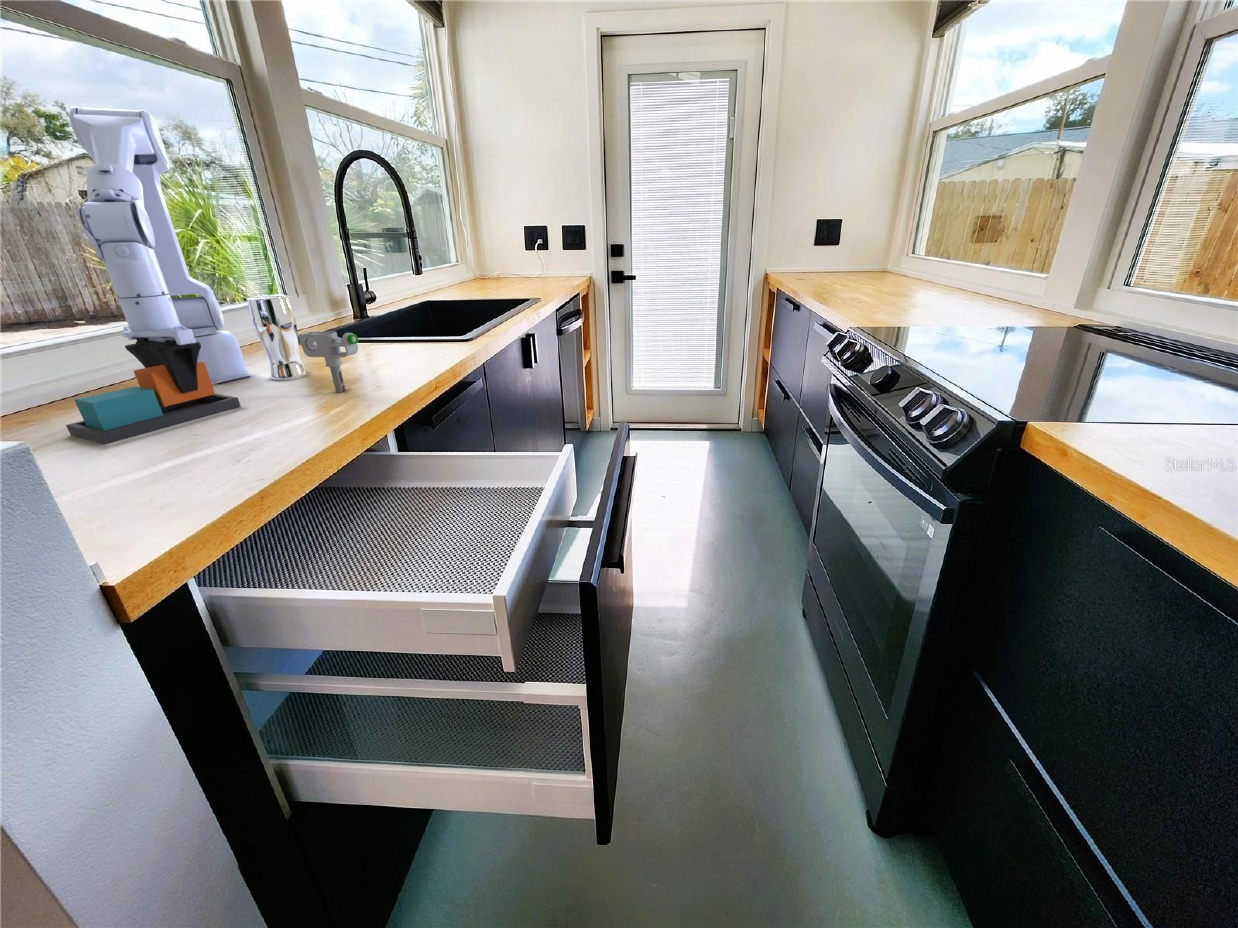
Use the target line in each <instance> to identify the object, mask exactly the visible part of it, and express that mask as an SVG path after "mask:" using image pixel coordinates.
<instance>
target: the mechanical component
mask: <svg viewBox="0 0 1238 928" xmlns="http://www.w3.org/2000/svg"><path fill="white" fill-rule="evenodd" d="M358 343H359V337H358V335H357V334H355V333H352V332H345V333H344V334H342V337H340V336H338V333H337V331H307V332H303V333H298V344H300V345H301V348H302V351H303V353H304V355H306V356H307V357H309V358H324V361H325V366H326V367H327V368H329V371H330V375H331V378H332V383H333V386H334V390H335V393H336V394H337V393H343V391H347V389H346V386H345V382H344V377H343V373H342V368H341V366H342V365H344V362H342V358H346V357H350V356H353V355H355V354H357V353H358V351H359V346H358ZM341 348H344V349H345V351H342V350H341Z"/></svg>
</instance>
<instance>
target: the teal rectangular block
mask: <svg viewBox="0 0 1238 928" xmlns="http://www.w3.org/2000/svg"><path fill="white" fill-rule="evenodd" d="M74 403H75V404H76V407H77V409H78V412H79V414H80V415H81V417H82V421H84V422H85V424H86V426H87V427H89V428H93V429H97V430H101V431H106V430H110V429H113V428H117V427H121V426H125V425H129V424H133V423H136V422H140V421H144V420H148V419H152V418H156V417H159V416H163V413H162V411H161V408H160V406H159V403H158V401H157V398H156V396H155V393H154V391H153V390H152V389H147V388H141V387H140V386H131V387H130V386H129V387H128V388H122V389H117V390H112V391H108V392H102V393H98V394H93V395H89V396H84V397H79V398H75V399H74Z"/></svg>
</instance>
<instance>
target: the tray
mask: <svg viewBox="0 0 1238 928" xmlns="http://www.w3.org/2000/svg"><path fill="white" fill-rule="evenodd" d="M160 408H161V411H162V413H163V416H159V417H156V418H152V419H148V420H144V421H140V422H136V423H133V424H129V425H125V426H121V427H117V428H113V429H110V430H106V431H101V430H97V429H93V428H89V427H87V426H86V424H85V422H84V420H80V421H77V422H73V423H68V424H65V426H66V429H67V431H68V433H69V435H70V436H71V437H74V438H79V439H82V440H86V441H90V442H93V443H97V444H99V445H103V446H105V445H108V444H111V443H115V442H119V441H123V440H127V439H130V438H133V437H137V436H141V435H144V434H148V433H151V432H155V431H159V430H162V429H166V428H169V427H173V426H177V425H180V424H181V425H182V424H184V423H187V422H190V421H194V420H199V419H202V418H206V417H208V416H212V415H216V414H219V413H224V412H227V411H230V410H234V409H239V408H241V403H240V400H239V397H237V396H233V395H225V394H220V393H215V394H214V395H210V396H206V397H202V398H198V399H194V400H190V401H186V402H182V403H178V404H174V405H170V406H166V407H163V406H160Z"/></svg>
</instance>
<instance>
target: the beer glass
mask: <svg viewBox="0 0 1238 928" xmlns="http://www.w3.org/2000/svg"><path fill="white" fill-rule="evenodd" d="M246 302H247V305H248V306H247V307H248V312H249V316H250V320H251V324H252V327H253V329H254V332H255V333H256V334H255V335H256V336H257V338H258V340H259V342H260V345H261V346H262V348H263V350H264V352H265V354H266V357H267V360H268V362H269V369H270V377H271V378H270V379H272V380H273V381H289V380H295V379H300V378H304V377H305V376H307V375H308V372H307V370H306V368H305V365H304V364H303V361H302V358H301V354H300V347H299V341H298V334H299V333H298V327H297V321H296V317H295V314H294V311H293V308H292V305H291V302H290V299H289V295H288V294H267V295H266V294H265V295H256V296H249V297H246Z"/></svg>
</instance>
